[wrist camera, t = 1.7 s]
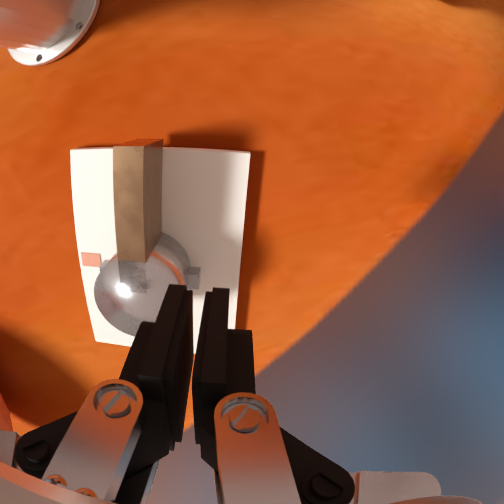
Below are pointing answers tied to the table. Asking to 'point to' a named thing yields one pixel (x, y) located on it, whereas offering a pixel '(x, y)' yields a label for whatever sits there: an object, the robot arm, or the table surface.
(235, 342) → the robot arm
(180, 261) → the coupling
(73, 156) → the base
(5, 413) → the bowl
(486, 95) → the table surface
